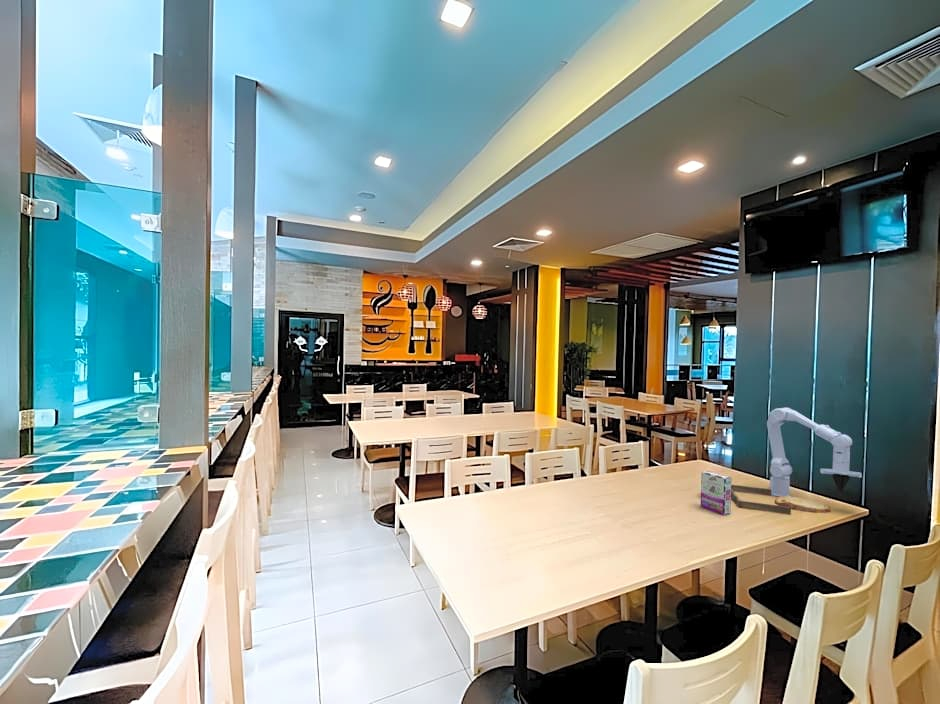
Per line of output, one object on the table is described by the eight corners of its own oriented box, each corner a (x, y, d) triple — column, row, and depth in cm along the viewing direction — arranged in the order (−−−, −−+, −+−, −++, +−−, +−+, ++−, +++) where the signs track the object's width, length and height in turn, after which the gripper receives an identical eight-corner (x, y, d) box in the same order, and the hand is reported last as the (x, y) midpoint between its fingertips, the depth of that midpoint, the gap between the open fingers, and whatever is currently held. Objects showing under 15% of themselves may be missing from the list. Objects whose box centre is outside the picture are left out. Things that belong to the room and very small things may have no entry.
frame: (724, 489, 215) (725, 483, 215) (770, 495, 208) (770, 489, 208) (738, 507, 190) (738, 501, 190) (790, 514, 184) (790, 507, 184)
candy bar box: (731, 513, 183) (732, 477, 183) (724, 515, 180) (725, 478, 180) (706, 504, 193) (707, 470, 192) (699, 506, 190) (701, 471, 190)
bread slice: (834, 510, 190) (834, 502, 190) (816, 517, 181) (816, 509, 181) (789, 497, 206) (789, 490, 206) (770, 503, 197) (770, 496, 197)
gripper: (825, 461, 187) (824, 491, 187) (866, 465, 182) (864, 496, 183) (818, 457, 194) (817, 486, 194) (857, 461, 189) (856, 491, 189)
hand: (839, 490), depth 189 cm, fingers closed
